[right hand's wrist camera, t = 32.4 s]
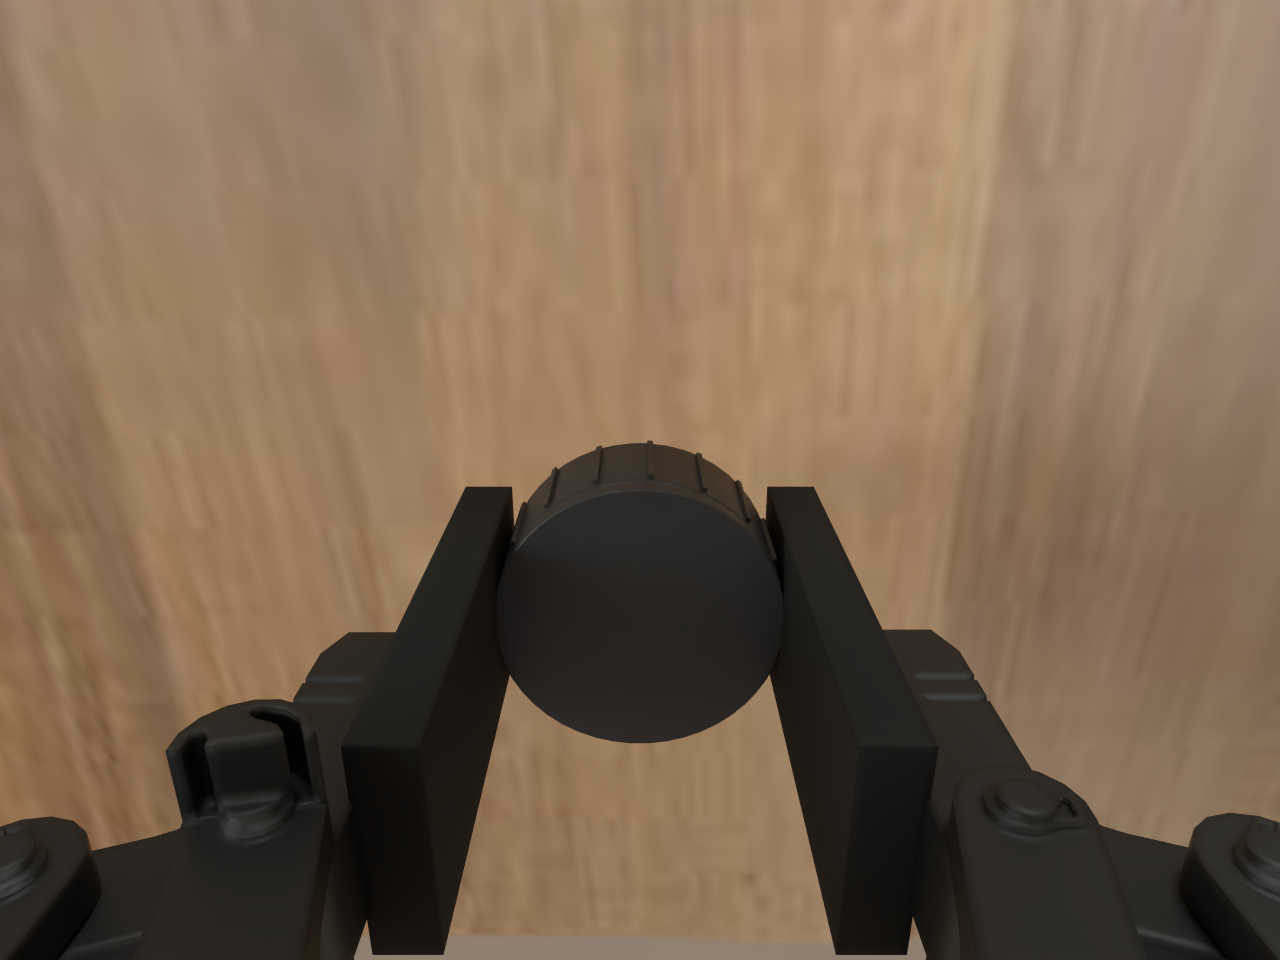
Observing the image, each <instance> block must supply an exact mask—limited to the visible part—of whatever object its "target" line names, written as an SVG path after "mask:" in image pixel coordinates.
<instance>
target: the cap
mask: <svg viewBox="0 0 1280 960" xmlns="http://www.w3.org/2000/svg"><path fill="white" fill-rule="evenodd" d="M509 545H510V547H509V550H508V554H507V557H506V560H505V563H504V566H503V570H502V573H501V576H500V579H499V583H498V587H497V591H496V610H497V624H498V639H499V651H500V654H501V657H502V659H503V662H504V664H505V666H506V668H507V670H508V671H509V673H510V675H511V677H512V679H513V680H514V681H515V683H516V684H517V685H518V687H519V688H520V689H521V691H522V692H523V693H524V694H525V695H526V696H527V697H528V698H529V699H530V700H531V701H532V702H533V703H534V704H535V705H536V706H537V707H538V708H540V709H541V710H542V711H543V712H545V713H546V714H547V715H548V716H550V717H552V718H553V719H555V720H557V721H558V722H560V723H561V724H563V725H565V726H567V727H570V728H572V729H574V730H576V731H578V732H581V733H584V734H587V735H590V736H593V737H596V738H600V739H605V740H609V741H615V742H624V743H655V742H664V741H670V740H675V739H679V738H684V737H687V736H690V735H693V734H696V733H699V732H701V731H703V730H706V729H708V728H710V727H712V726H714V725H716V724H718V723H720V722H721V721H723V720H724V719H726V718H728V717H729V716H731V715H732V714H733V713H735V712H736V711H737V710H738V709H740V708H741V707H742V706H743V705H745V704H746V703H747V702H748V701H749V700H750V699H751V698H752V697H753V695H754V694H755V693H756V692H757V691H758V690H759V688H760V687H761V686H762V684H763V683H764V682H765V680H766V679H767V677H768V675H769V674H770V672H771V670H772V668H773V666H774V665H775V663H776V660H777V657H778V655H779V652H780V644H781V631H782V616H783V600H784V594H783V590H782V586H781V582H780V578H779V575H778V572H777V569H776V565H775V564H776V563H779V562H778V559H777V556H776V552H775V549H774V546H773V543H772V540H771V537H770V534H769V531H768V527H767V524H766V521H765V519H764V518H762V519H760V517H759V514H758V512H757V510H756V509H755V507H754V505H753V503H752V502H751V500H750V498H749V497H748V496H747V494H746V493H745V492H744V491H743V487H742V484H741V482H740V481H739V480H737V481H736V482H735V481H734V480H733V479H732V478H731V477H730V476H729V475H728V474H727V473H725V472H724V471H722V470H721V469H720V468H718V467H717V466H716V465H714V464H712V463H711V462H709V461H707V460H705V459H703V458H702V454H700V453H698V452H697V453H696V455H695V454H692V453H691V452H687V451H685V450H681V449H677V448H673V447H669V446H665V445H657V444H653V441H647V443H631V444H623V445H614V446H610V447H606V448H602V446H598V447H596V450H594V451H592V452H590V453H587V454H585V455H582V456H580V457H578V458H576V459H574V460H572V461H571V462H569V463H567V464H565V465H564V466H562V467H561V468H560V469H557V467H555V468H554V469H553V470H552V473H551V475H550V476H549V477H548V478H547V479H546V480H545V481H544V482H543V483H542V484H541V485H540V486H539V487H538V489H537V490H536V491H535V492H534V494H533V495H532V496H531V497H530V499H529V500H528V502H527V503H525V502H523V503H522V505H521V508H520V511H519V514H518V518H517V521H516V524H515V527H514V530H513V534H512V537H511V540H510V543H509Z"/></svg>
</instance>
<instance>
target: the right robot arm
mask: <svg viewBox="0 0 1280 960" xmlns="http://www.w3.org/2000/svg"><path fill="white" fill-rule="evenodd" d="M766 524H767V527H768V531H769V534H770V537H771V540H772V543H773V546H774V549H775V552H776V556H777V559H778V562H779V563H776V564H775V565H776V569H777V572H778V575H779V578H780V582H781V586H782V590H783V594H784V600H783V616H782V631H781V644H780V652H779V655H778V657H777V660H776V663H775V665H774V666H773V668H772V670H771V672H770V678H771V682H772V686H773V691H774V695H775V699H776V703H777V707H778V712H779V716H780V720H781V724H782V729H783V733H784V737H785V741H786V746H787V750H788V754H789V758H790V762H791V767H792V771H793V775H794V779H795V784H796V788H797V792H798V796H799V800H800V805H801V809H802V813H803V817H804V822H805V826H806V830H807V834H808V839H809V843H810V847H811V851H812V855H813V860H814V864H815V868H816V872H817V877H818V881H819V885H820V889H821V893H822V898H823V902H824V906H825V910H826V915H827V919H828V923H829V927H830V932H831V936H832V940H833V944H834V948H835V953H836V955H907V950H908V944H909V937H910V931H911V924H912V918H914V921H915V924H916V926H917V929H918V932H919V935H920V938H921V941H922V944H923V947H924V950H925V952H926V955H927V957H926V960H1280V823H1279V822H1275V821H1272V820H1269V819H1266V818H1263V817H1260V816H1253V815H1244V814H1235V813H1226V814H1221V815H1216V816H1210V817H1207V818H1205V819H1204V820H1203V821H1202V822H1201V823H1200V824H1199V825H1198V826H1196V827H1195V828H1194V830H1193V834H1192V837H1191V840H1190V844H1189V847H1184V846H1179V845H1175V844H1170V843H1166V842H1162V841H1157V840H1153V839H1149V838H1144V837H1140V836H1135V835H1131V834H1127V833H1123V832H1120V831H1117V830H1113V829H1110V828H1107V827H1104V826H1101V825H1099V823H1098V820H1097V819H1096V817H1095V816H1094V814H1093V813H1092V811H1091V809H1090V808H1089V806H1088V805H1087V803H1086V802H1085V801H1084V800H1083V799H1082V798H1081V797H1079V796H1078V795H1077V794H1076V793H1075V792H1073V791H1072V790H1071V789H1070V788H1068V787H1067V786H1066V785H1065V784H1063V783H1061V782H1059V781H1057V780H1055V779H1053V778H1050V777H1048V776H1046V775H1044V774H1042V773H1040V772H1037V771H1033V770H1031V768H1030V766H1029V765H1028V763H1027V762H1026V760H1025V758H1024V757H1023V755H1022V753H1021V752H1020V750H1019V748H1018V747H1017V745H1016V743H1015V742H1014V740H1013V739H1012V737H1011V735H1010V734H1009V732H1008V730H1007V729H1006V727H1005V725H1004V724H1003V722H1002V720H1001V719H1000V717H999V716H998V714H997V712H996V711H995V709H994V707H993V706H992V704H991V702H990V701H987V699H986V694H985V693H984V691H983V689H982V688H981V686H980V684H979V683H978V681H977V680H974V674H973V673H972V671H971V670H970V668H969V666H968V665H967V663H966V661H965V660H964V658H963V656H962V655H961V653H960V651H959V650H957V649H956V648H955V647H953V646H952V645H951V644H949V643H948V642H947V641H945V640H944V639H943V638H941V637H940V636H939V635H937V634H936V633H935V632H933V631H932V630H882V628H881V626H880V624H879V622H878V619H877V617H876V615H875V613H874V611H873V609H872V607H871V605H870V603H869V601H868V599H867V597H866V595H865V592H864V590H863V588H862V586H861V584H860V582H859V580H858V578H857V576H856V574H855V572H854V570H853V568H852V566H851V563H850V561H849V559H848V557H847V555H846V553H845V551H844V549H843V547H842V545H841V543H840V541H839V539H838V536H837V534H836V532H835V530H834V528H833V526H832V524H831V522H830V520H829V518H828V516H827V514H826V512H825V509H824V507H823V505H822V503H821V501H820V499H819V497H818V495H817V493H816V491H815V489H814V487H767V505H766ZM513 530H514V514H513V497H512V487H466V488H465V490H464V492H463V494H462V496H461V498H460V500H459V502H458V504H457V506H456V508H455V510H454V512H453V515H452V517H451V519H450V521H449V523H448V525H447V527H446V529H445V531H444V533H443V535H442V537H441V539H440V541H439V544H438V546H437V548H436V550H435V552H434V554H433V556H432V558H431V560H430V562H429V564H428V566H427V568H426V571H425V573H424V575H423V577H422V579H421V581H420V583H419V585H418V587H417V589H416V591H415V593H414V595H413V597H412V600H411V602H410V604H409V606H408V608H407V610H406V612H405V614H404V616H403V618H402V620H401V622H400V624H399V627H398V629H397V631H396V632H349V633H347V634H346V635H345V636H343V637H342V638H341V639H339V640H338V641H337V642H335V643H334V644H333V645H332V646H330V647H329V648H328V649H326V650H325V651H324V652H322V653H321V654H320V656H319V657H318V659H317V661H316V662H315V664H314V666H313V667H312V669H311V671H310V672H309V674H308V675H307V677H306V683H303V684H302V685H301V687H300V689H299V690H298V692H297V694H296V695H295V697H294V699H293V703H292V702H288V701H285V700H281V699H271V700H251V701H247V702H242V703H238V704H233V705H229V706H226V707H223V708H221V709H219V710H216V711H214V712H212V713H209V714H207V715H205V716H202V717H200V718H199V719H197V720H196V721H195V722H193V723H192V724H191V725H189V726H188V727H186V728H185V729H184V730H182V731H181V732H180V733H178V735H177V736H176V737H175V739H174V740H173V741H172V743H171V744H170V746H169V747H168V748H167V750H166V755H167V759H168V763H169V767H170V771H171V776H172V780H173V784H174V788H175V792H176V796H177V800H178V804H179V808H180V812H181V816H182V820H183V822H182V825H181V828H180V829H177V830H175V831H171V832H168V833H165V834H161V835H158V836H155V837H151V838H147V839H142V840H138V841H134V842H129V843H125V844H121V845H116V846H112V847H108V848H103V849H99V850H94V851H92V849H91V846H90V843H89V839H88V836H87V833H86V832H85V831H84V830H83V829H82V828H81V827H80V826H79V825H78V824H76V823H75V822H74V821H72V820H66V819H61V818H56V817H43V818H34V819H25V820H20V821H17V822H14V823H11V824H7V825H4V826H1V827H0V960H354V955H355V952H356V949H357V947H358V944H359V941H360V938H361V935H362V932H363V929H364V926H365V923H366V920H367V922H368V928H369V935H370V941H371V948H372V954H373V955H443V954H444V950H445V946H446V942H447V938H448V933H449V929H450V925H451V921H452V917H453V912H454V908H455V904H456V900H457V895H458V891H459V887H460V883H461V878H462V874H463V870H464V866H465V862H466V857H467V853H468V849H469V845H470V840H471V836H472V832H473V828H474V824H475V819H476V815H477V811H478V807H479V802H480V798H481V794H482V790H483V786H484V781H485V777H486V773H487V769H488V764H489V760H490V756H491V752H492V747H493V743H494V739H495V735H496V731H497V726H498V722H499V718H500V714H501V709H502V705H503V701H504V697H505V693H506V688H507V684H508V680H509V676H510V673H509V671H508V670H507V668H506V666H505V664H504V662H503V659H502V657H501V654H500V651H499V639H498V624H497V610H496V591H497V587H498V583H499V579H500V576H501V573H502V570H503V566H504V563H505V560H506V557H507V554H508V550H509V547H510V545H509V543H510V540H511V537H512V534H513Z"/></svg>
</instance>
